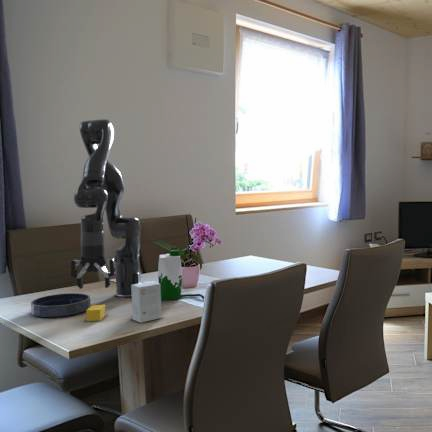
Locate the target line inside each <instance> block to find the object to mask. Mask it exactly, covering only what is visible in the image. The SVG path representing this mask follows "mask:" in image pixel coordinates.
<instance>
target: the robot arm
mask: <svg viewBox="0 0 432 432" xmlns="http://www.w3.org/2000/svg"><path fill="white" fill-rule="evenodd" d="M79 134H80V137H81V140H82V143H83V145H84V148H85V150H86V152H87V155H88V158H87V160H86V161H85V162H84V165H83V169H82V177H81V179H80V182H79V184H78V186H77V188H76V190H75V191H74V194H73V202H74V204H75V205H76V207H78V208H81V209H94V208H95V211H94V212H92V213H87V214H84V215H81V217H80V242H79V243H80V257H81V258H80V259H75V258H74V259H72V260H71V261H70V277H71V278H75V279H76V282H77V283H76V284H77V285H76V286H77V288H79V289H80V290H82V289H84V277H83V276H84V275H85V273H86V272H88V273H91V272H95V273H98V272H100V274H101V275H103V276H104V277H105V278H104V288H105V289H108V288H109V287H110V286H111V283H112V282H111V277H114V276H115V292H116V293H115V296H116V297H119V298H132V291H131V285H133V284H139V283H144V282H145V281H142V271H141V269H140V249H141V231H142V229H141V228H142V227H141V223H140V220H139V219H138V218H136V217H134V216H133V217H132V216H122V213H121V209H120V203H121V201H122V197H123V196H124V195H123V194H124V191H125V183H124V180H123V177H122V174H121V171H120V170H119V169H118V167H116V166H115V165H114V164H113V163H112V162H111V161H110V160H109V159H108V158H109V155H110V153H111V149H112V146H113V144H114V139H115V129H114V126H113V124H112V122H111V120H109V119H105V118H102V119H101V118H100V119H90V120H83V121H81V122H80V124H79ZM104 215H106V221H107V227H108V231H109V233H110V235H111V236H112V237H113V238H114V239H118V240H119V239H120V240H124V241H125V242H124V244H123V245H122V246H118V247H116V248H115V249H114V258H111V259H106V251H105V250H106V249H105V234H104ZM106 264H107V266H109V271H108V269H107V268H106V266H105V265H106ZM79 265H81V266H82V269H80V271H79V273H78V266H79ZM185 297H201V298H202V299H203V300H204V297H205V296H204V295H203V294H201V293H193V294H192V293H188V294H187V293H186V294H181V296H180V298H185ZM161 300H162V298H161Z"/></svg>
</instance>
